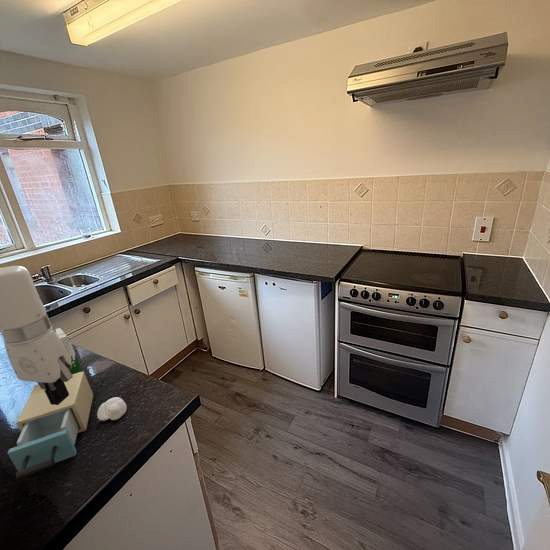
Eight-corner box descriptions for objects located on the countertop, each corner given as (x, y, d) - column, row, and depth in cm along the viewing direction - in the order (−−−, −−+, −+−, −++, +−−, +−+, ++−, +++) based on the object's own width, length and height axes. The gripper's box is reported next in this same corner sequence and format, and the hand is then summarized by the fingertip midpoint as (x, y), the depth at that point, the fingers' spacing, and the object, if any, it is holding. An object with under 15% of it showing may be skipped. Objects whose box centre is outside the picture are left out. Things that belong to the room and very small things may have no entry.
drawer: (71, 474, 63) (60, 451, 60) (11, 498, 59) (-3, 474, 57) (85, 415, 78) (76, 395, 76) (38, 431, 75) (27, 411, 72)
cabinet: (85, 430, 75) (74, 403, 72) (30, 449, 71) (16, 422, 68) (93, 395, 87) (83, 371, 83) (46, 410, 83) (34, 385, 80)
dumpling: (125, 403, 82) (124, 393, 81) (128, 418, 79) (127, 408, 77) (95, 412, 79) (94, 401, 77) (97, 428, 75) (96, 417, 73)
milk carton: (81, 374, 96) (58, 320, 89) (90, 386, 90) (67, 329, 83) (49, 390, 90) (22, 333, 83) (56, 403, 85) (28, 344, 77)
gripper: (-23, 337, 57) (17, 410, 64) (40, 340, 54) (74, 416, 61) (16, 318, 64) (48, 385, 71) (73, 319, 61) (101, 390, 67)
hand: (60, 399), depth 66 cm, fingers closed
